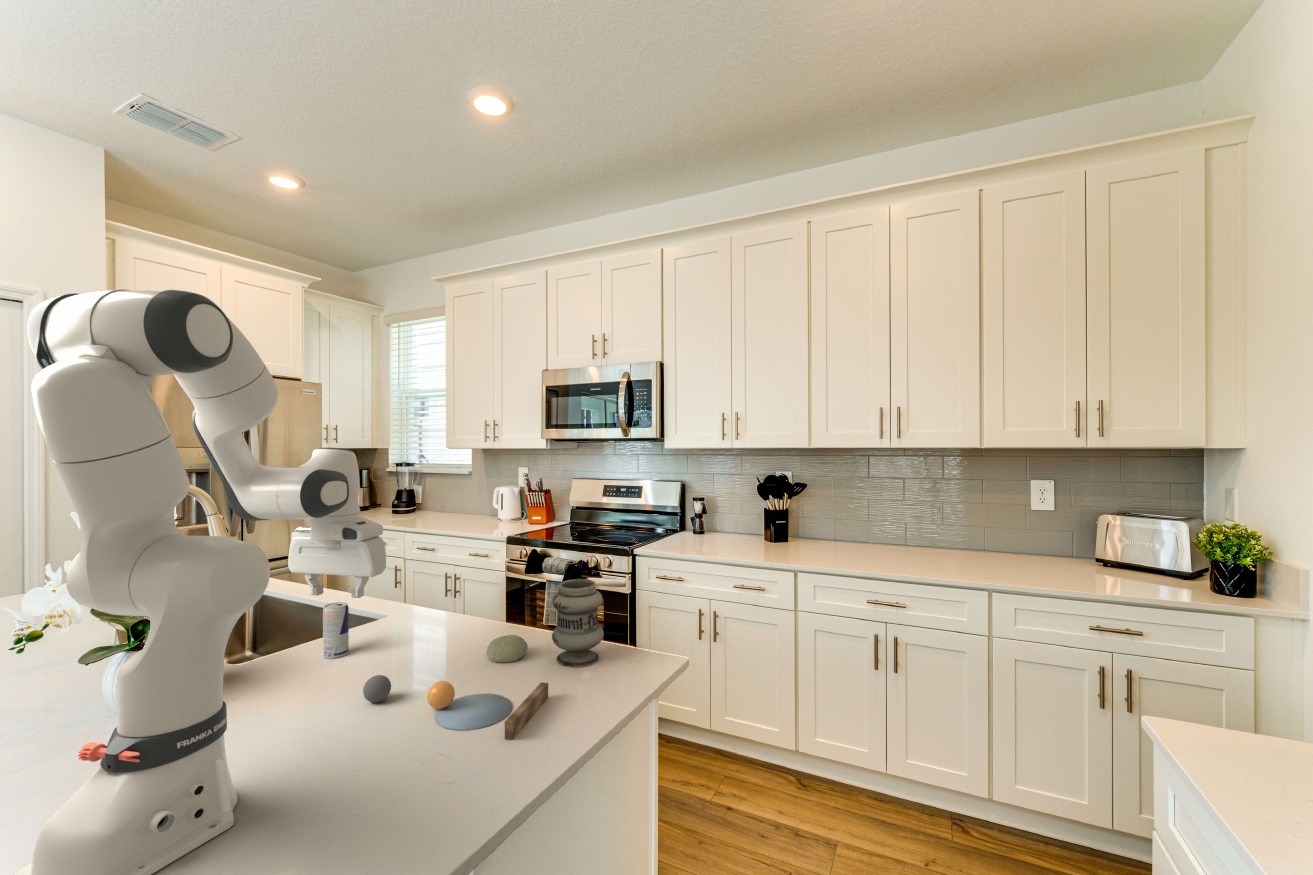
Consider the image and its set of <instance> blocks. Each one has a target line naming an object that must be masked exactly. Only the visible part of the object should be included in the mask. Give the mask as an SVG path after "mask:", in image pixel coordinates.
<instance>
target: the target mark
mask: <svg viewBox="0 0 1313 875" xmlns="http://www.w3.org/2000/svg"><path fill="white" fill-rule="evenodd" d="M512 710H513V703H512V702H511V700H510V699H509V698H508V697H506V696H503V695H500V694H496V693H476V694H469V695H464V696H461V697H457V698H454V699H453V701H452V703H451V704H450V705H449V706H448V707H446V708H444V709H437V710H436V713H435V714H434V720H436V721H435V722H436V724H437V725H438V724H439V725H438V726H440V727H441V726H442V727H441V728H444V729H446V728H447V729H446V730H452V731H471V730H480V729H483V728H486V727H490V726H493V725H495V724H497V723H499V722H501V721H502V720H504V719H505V718H507V717H508V716H510V713H511V712H512Z"/></svg>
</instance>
